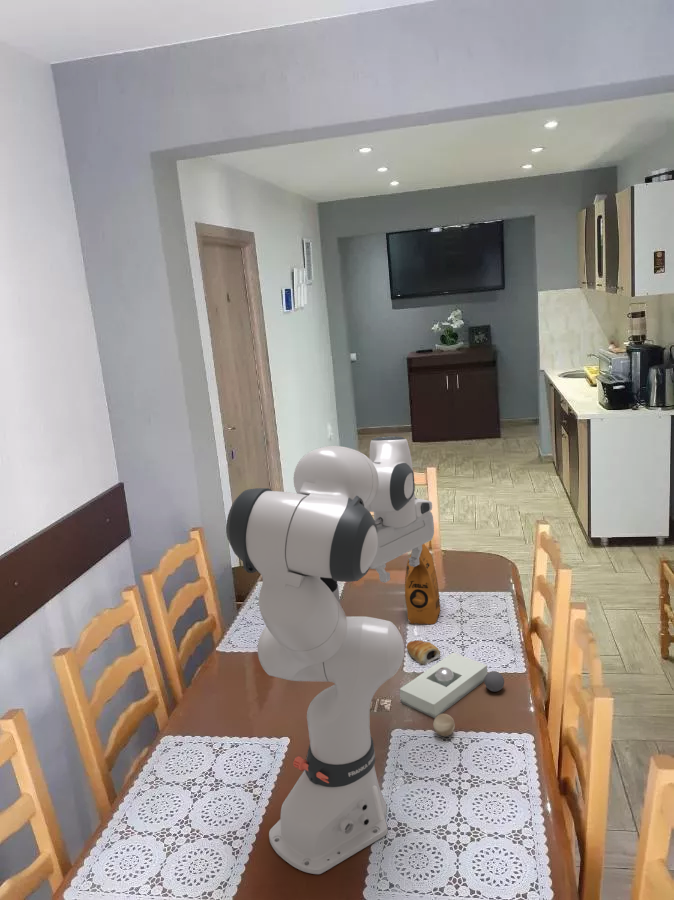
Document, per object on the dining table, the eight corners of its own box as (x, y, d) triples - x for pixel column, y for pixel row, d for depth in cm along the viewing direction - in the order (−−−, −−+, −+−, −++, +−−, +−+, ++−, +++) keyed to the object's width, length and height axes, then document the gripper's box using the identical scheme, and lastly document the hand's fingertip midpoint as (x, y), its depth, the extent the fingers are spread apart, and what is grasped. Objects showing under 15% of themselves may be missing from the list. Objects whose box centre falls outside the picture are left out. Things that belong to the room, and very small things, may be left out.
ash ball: (446, 743, 150) (445, 724, 149) (429, 735, 153) (428, 716, 152) (459, 733, 153) (458, 714, 152) (442, 725, 156) (441, 706, 155)
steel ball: (446, 693, 165) (446, 674, 165) (431, 686, 169) (430, 668, 168) (458, 686, 168) (458, 668, 168) (443, 680, 172) (442, 662, 171)
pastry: (400, 652, 188) (399, 639, 187) (421, 643, 191) (420, 630, 190) (422, 667, 180) (421, 653, 179) (443, 658, 183) (443, 644, 182)
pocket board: (435, 718, 159) (434, 704, 158) (400, 702, 166) (399, 688, 165) (487, 678, 172) (486, 665, 171) (453, 665, 179) (453, 652, 178)
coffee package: (402, 625, 201) (396, 552, 196) (408, 605, 213) (403, 535, 208) (438, 626, 199) (433, 552, 194) (442, 605, 210) (437, 535, 205)
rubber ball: (497, 697, 164) (496, 680, 163) (480, 690, 167) (479, 673, 166) (508, 688, 167) (507, 671, 166) (492, 682, 170) (491, 665, 169)
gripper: (371, 529, 140) (377, 594, 144) (437, 500, 154) (441, 560, 157) (348, 523, 145) (355, 587, 148) (414, 495, 158) (418, 554, 162)
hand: (400, 573), depth 153 cm, fingers open, 8 cm apart
